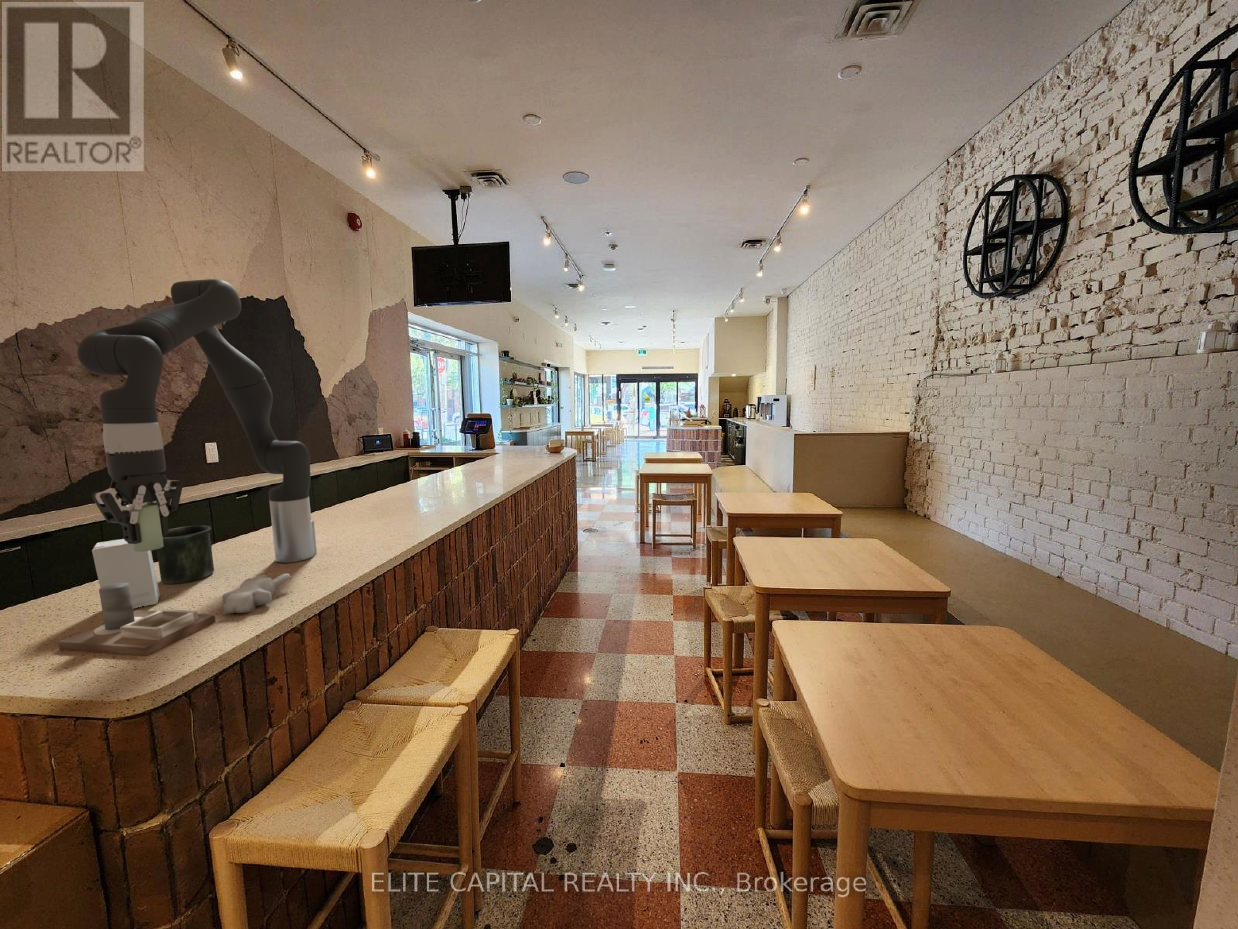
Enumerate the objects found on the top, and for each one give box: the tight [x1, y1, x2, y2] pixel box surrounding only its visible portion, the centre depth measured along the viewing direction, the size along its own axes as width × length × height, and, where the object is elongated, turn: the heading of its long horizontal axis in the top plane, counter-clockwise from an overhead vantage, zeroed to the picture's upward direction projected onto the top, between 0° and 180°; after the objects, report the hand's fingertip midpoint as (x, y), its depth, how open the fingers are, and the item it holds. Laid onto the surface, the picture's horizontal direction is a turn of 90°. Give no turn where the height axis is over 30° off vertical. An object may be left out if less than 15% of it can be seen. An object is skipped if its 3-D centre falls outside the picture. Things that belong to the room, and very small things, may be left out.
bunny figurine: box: [221, 573, 292, 614], centre depth 108 cm, size 10×5×15 cm
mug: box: [156, 525, 215, 585], centre depth 123 cm, size 11×15×12 cm
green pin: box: [133, 504, 164, 552], centre depth 89 cm, size 4×4×8 cm
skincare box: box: [91, 538, 160, 610], centre depth 104 cm, size 8×6×15 cm
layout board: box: [57, 583, 216, 657], centre depth 92 cm, size 13×18×10 cm
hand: (147, 539), depth 90 cm, fingers closed on green pin, 4 cm apart
